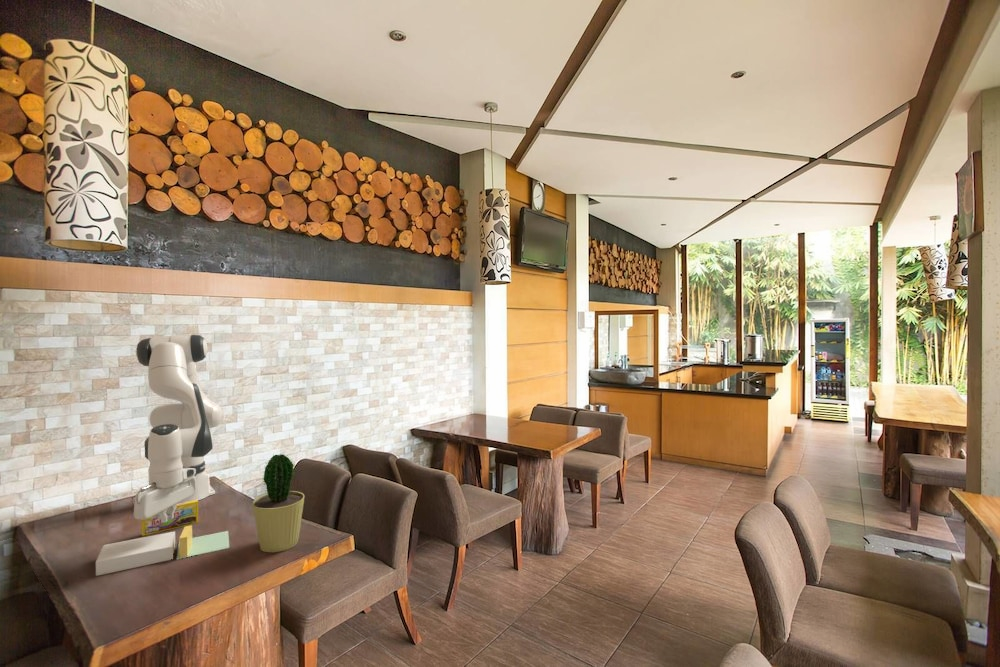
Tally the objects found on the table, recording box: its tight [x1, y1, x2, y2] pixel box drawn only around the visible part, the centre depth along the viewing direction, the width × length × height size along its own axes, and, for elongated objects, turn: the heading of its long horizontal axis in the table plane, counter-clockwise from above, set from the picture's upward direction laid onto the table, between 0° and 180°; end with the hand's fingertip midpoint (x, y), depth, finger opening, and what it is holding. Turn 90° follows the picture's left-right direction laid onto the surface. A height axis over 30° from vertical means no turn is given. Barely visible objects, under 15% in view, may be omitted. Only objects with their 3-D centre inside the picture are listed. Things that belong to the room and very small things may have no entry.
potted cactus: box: [251, 453, 305, 553], centre depth 153 cm, size 15×15×30 cm
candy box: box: [141, 500, 199, 537], centre depth 165 cm, size 16×2×8 cm, turn 132°
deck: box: [95, 531, 176, 577], centre depth 144 cm, size 12×18×4 cm, turn 122°
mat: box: [175, 530, 230, 561], centre depth 153 cm, size 14×14×1 cm
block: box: [178, 524, 193, 557], centre depth 149 cm, size 9×6×2 cm
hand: (167, 520), depth 148 cm, fingers closed
